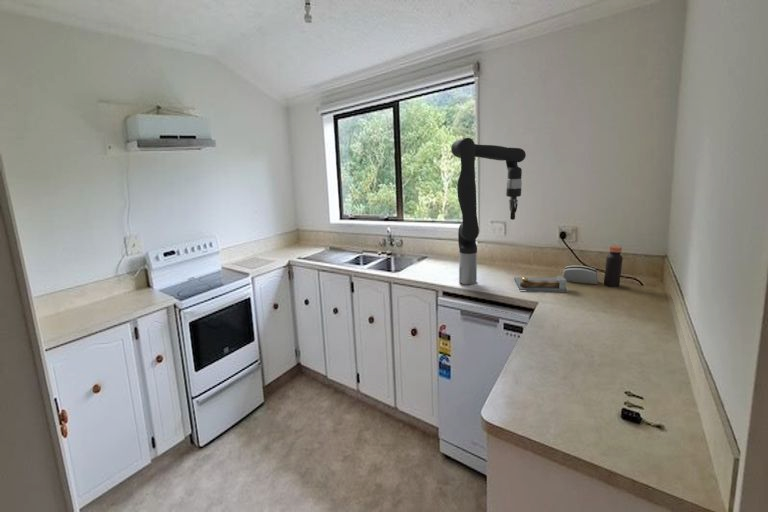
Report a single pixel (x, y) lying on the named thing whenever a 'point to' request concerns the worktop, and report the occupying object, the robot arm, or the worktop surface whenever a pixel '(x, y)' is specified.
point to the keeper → (561, 282)
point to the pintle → (525, 279)
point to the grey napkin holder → (580, 274)
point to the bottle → (613, 267)
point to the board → (547, 289)
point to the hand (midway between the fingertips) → (512, 219)
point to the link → (539, 283)
